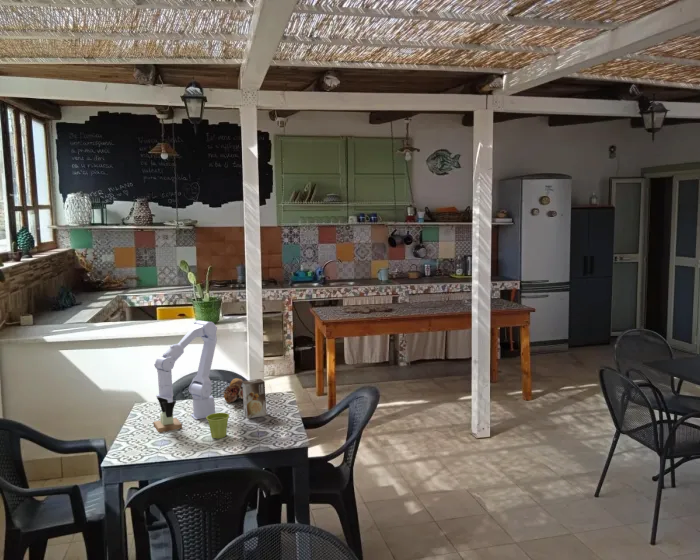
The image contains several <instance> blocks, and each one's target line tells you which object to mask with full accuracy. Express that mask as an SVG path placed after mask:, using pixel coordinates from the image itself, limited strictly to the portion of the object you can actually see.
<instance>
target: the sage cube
mask: <svg viewBox="0 0 700 560" xmlns="http://www.w3.org/2000/svg"><path fill="white" fill-rule="evenodd" d="M159 417H160V421H161V423H162V424H163V425H168V424H173V418H174V413H173V414H172V417H168V418H167V416H166V412H162V411H161V412H160V415H159Z"/></svg>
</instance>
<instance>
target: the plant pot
mask: <svg viewBox="0 0 700 560" xmlns="http://www.w3.org/2000/svg"><path fill="white" fill-rule="evenodd" d="M229 418H230V414H229V413H226V412H215V413H214V414H210V415H208V416H207V417H206V418H205V419H206V420H207V422H208V425H209V426H208V427H209V431H210V436H211V438H212V439H223V438H225V437H227V431H228V421H229Z"/></svg>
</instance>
